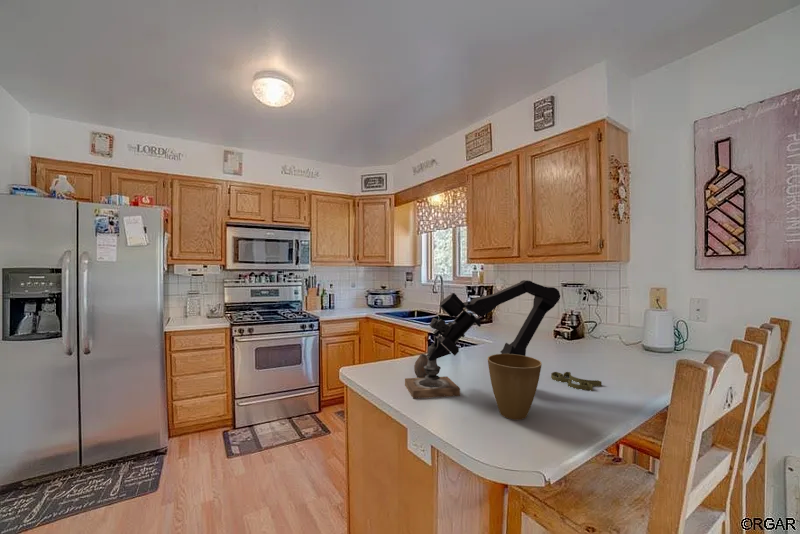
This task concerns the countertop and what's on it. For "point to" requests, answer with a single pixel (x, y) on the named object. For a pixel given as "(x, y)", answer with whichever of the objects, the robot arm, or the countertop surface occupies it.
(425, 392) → the bore block
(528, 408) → the plant pot
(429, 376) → the grey chess piece
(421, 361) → the vase
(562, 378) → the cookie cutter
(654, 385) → the countertop surface
